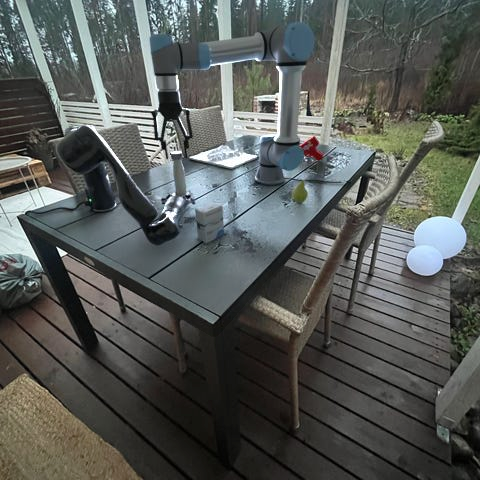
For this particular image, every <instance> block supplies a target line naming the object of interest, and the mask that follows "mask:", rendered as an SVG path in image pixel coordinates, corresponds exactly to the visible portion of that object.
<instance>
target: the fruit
mask: <svg viewBox="0 0 480 480" xmlns="http://www.w3.org/2000/svg"><path fill="white" fill-rule="evenodd" d="M310 177H311V175H310V174H309V175H308V176H307V177H305V179H301V180H302V181H299V182H298V184H297V185H296V186H295V187H294V188H293V190H292V191H291V198H292V200H293V201H294V202H295V203H297V204H301V203H304V202H305V201H306V200H307V198H308V196H309V195H308V190H307V189H306V184H305V183H306V181H305V180H308V179H309V178H310Z"/></svg>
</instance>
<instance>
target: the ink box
mask: <svg viewBox="0 0 480 480" xmlns="http://www.w3.org/2000/svg"><path fill="white" fill-rule="evenodd" d="M223 207H224V206H223V204H220V203H218V202H216V201H212V202H209V203H207V204H205V205H202V206H198V207H197V208H196V207H195V208H194V212H195V220H196V221H195V222H196V223H195V224H196V230H197V239H199V240H200V241H202V242H203V243H205V244H208V243H210V242H212V241H214V240H216V239H217V238H220V237H222V236H224V235H225V228H224V227H225V226H224V210H223Z"/></svg>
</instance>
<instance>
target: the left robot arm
mask: <svg viewBox="0 0 480 480" xmlns="http://www.w3.org/2000/svg"><path fill="white" fill-rule="evenodd" d="M55 152H56V156H57V157H58V159H59V160H60V162H62V164H63V165H64V166H65V167H66V168H67V169H69V170H70V171H72V172H73V173H75V174H77V175H81V176H82V180H83V182H84V187H85V188H84V193H85V196H86V198H85V199H84V200H83V201H82V202H79V203H78V204H77V205H76V206H75V207H74V208H71V207H65V206H60V207H54V208H51V209H48V210H45V211H34V210H30V209H29V210H27V211H25V213H24V214H25V215H27V214H29V213H31V214H35V215H43V214H47V213H50V212H54V211H57V210H67V211H75V210H77V209H79V208H80V206H81V205H83V204H84V206H85V207H89V208H90V210H91V211H92V212H96V213H106V212H110V211H112V210H114V209H116V208H117V203H116V197H115V196H114V191H113V189H112V185H111V181H110V179H109V174H108V171H107V168H106V164H107V165H108V167H109V168H110V170H111V171H112V174H113V177H114V180H115V184H116V190H117V194H118V199H119V201H120V203H121V206H122V208H123V209H124V210H125V211H126V212H127V213H128V214H129V215H130V216H131V217H132V218H133V219H134V221H136V222H137V224H138V225H139V227H140V229H141V230H142V232H143V234H144V236H145V237H146V240H147V241H148V242H149V243H150V244H151V245H153V246H157V247H158V246H161V245H164V244H166V243H168V242H171V241H172V240H175V239H176V238H177V237H178V236H179V235H180V232H181V231H180V230H181V229H180V221H181V219H182V218H183V216H184V214H185V211H186V210H185V209H186V206H187V205H188V206H189V204H192V205H196V198H195V195H194V193H193V192H191V190H190V189H187V192H186V194H183V195H182V196H176V189H175V190H174V191H172V192H168V193H166V194H165V195H163V196H162V197H161V198H160V201H161V205H163V207H162V211H161V212H160V213H159V211H158V209H157V207H156V206H155V205H154V204H153V203H152V201H151V200H150V199H149V198H148V197H147V196H146V195H145V194H144V192H143V191H142V190H141V189H140V187H139V186H138V185H137V184H136V182H135V181H134V179H133V178H132V176H131V175H130V173H129V172H128V170H127V169H126V168H125V166H124V165H123V164H122V162H121V161H120V159H119V158H118V157H117V156H116V154H115V153H114V152H113V150H112V149H111V148H110V146H109V145H108V143H107V142H106V141H105V139H104V138H103V137H102V136H101V135H100V134H99V133H98V132H97V131H96V128H95V127H94V126H93V125H88V124H83V125H77V126H70V127H67V128H65V130H64V137H63V138H62V139H60V140H59V141H58V142H57V143H56V145H55ZM105 163H106V164H105ZM31 211H32V212H31ZM91 211H90V212H91ZM158 215H159V216H158ZM157 217H158V221H157V222H156V223H153V222H154V221H155V220H156V219H157Z"/></svg>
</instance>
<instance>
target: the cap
mask: <svg viewBox="0 0 480 480" xmlns="http://www.w3.org/2000/svg"><path fill="white" fill-rule="evenodd" d="M170 158H171V160H180V159H181V160H183V152H182V151H180V150H175V151H171V152H170Z"/></svg>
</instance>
